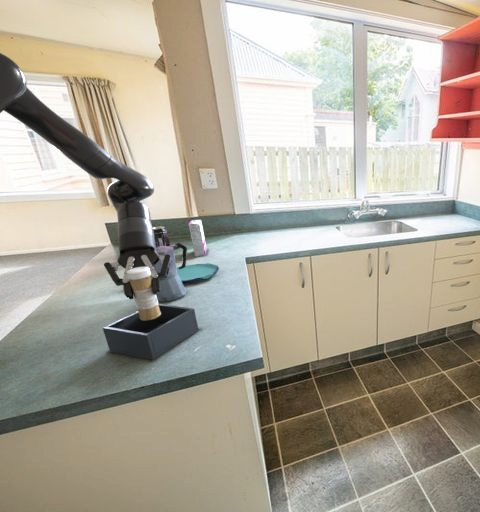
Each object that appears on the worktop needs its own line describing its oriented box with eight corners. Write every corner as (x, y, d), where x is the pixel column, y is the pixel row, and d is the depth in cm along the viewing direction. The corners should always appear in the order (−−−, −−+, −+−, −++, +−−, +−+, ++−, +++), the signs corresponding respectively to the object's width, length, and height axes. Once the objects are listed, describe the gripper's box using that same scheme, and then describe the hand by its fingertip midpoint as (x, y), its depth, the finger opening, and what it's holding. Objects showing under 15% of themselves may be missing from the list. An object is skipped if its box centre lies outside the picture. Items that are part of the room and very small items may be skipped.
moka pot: (140, 301, 100) (124, 245, 94) (185, 285, 113) (174, 234, 107) (156, 307, 96) (141, 249, 90) (202, 290, 109) (191, 237, 103)
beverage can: (167, 251, 155) (162, 228, 151) (152, 252, 153) (147, 229, 149) (173, 247, 161) (168, 226, 157) (158, 248, 159) (153, 226, 156)
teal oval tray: (215, 282, 116) (214, 276, 116) (122, 292, 107) (120, 286, 106) (223, 265, 134) (222, 261, 134) (144, 273, 125) (143, 268, 124)
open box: (153, 359, 71) (146, 335, 69) (109, 351, 74) (102, 328, 72) (198, 329, 84) (194, 308, 82) (160, 323, 87) (154, 303, 85)
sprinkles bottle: (145, 313, 79) (131, 266, 74) (164, 311, 80) (152, 265, 76) (136, 322, 75) (121, 273, 70) (157, 320, 76) (144, 271, 71)
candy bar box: (196, 250, 156) (190, 220, 151) (207, 249, 158) (201, 219, 153) (194, 256, 146) (187, 224, 141) (205, 255, 148) (199, 223, 143)
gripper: (95, 233, 72) (99, 296, 67) (166, 227, 80) (175, 283, 74) (106, 249, 78) (110, 308, 73) (171, 241, 86) (180, 294, 80)
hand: (143, 295), depth 73 cm, fingers closed on sprinkles bottle, 4 cm apart
